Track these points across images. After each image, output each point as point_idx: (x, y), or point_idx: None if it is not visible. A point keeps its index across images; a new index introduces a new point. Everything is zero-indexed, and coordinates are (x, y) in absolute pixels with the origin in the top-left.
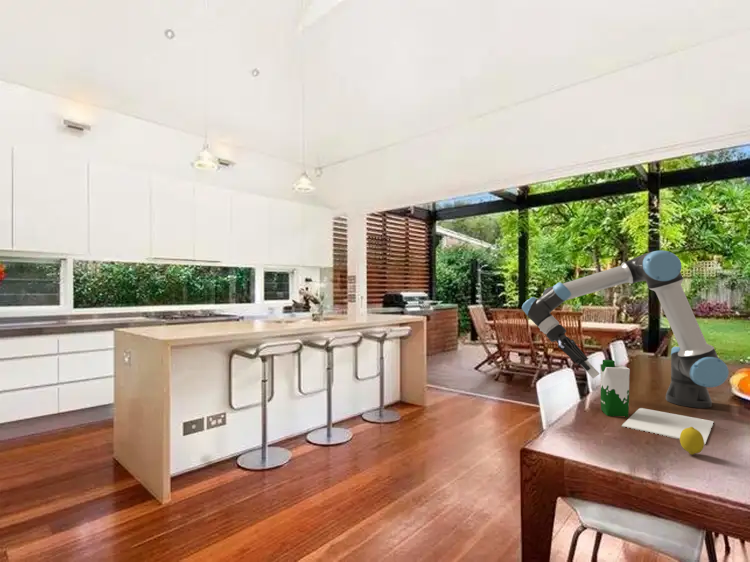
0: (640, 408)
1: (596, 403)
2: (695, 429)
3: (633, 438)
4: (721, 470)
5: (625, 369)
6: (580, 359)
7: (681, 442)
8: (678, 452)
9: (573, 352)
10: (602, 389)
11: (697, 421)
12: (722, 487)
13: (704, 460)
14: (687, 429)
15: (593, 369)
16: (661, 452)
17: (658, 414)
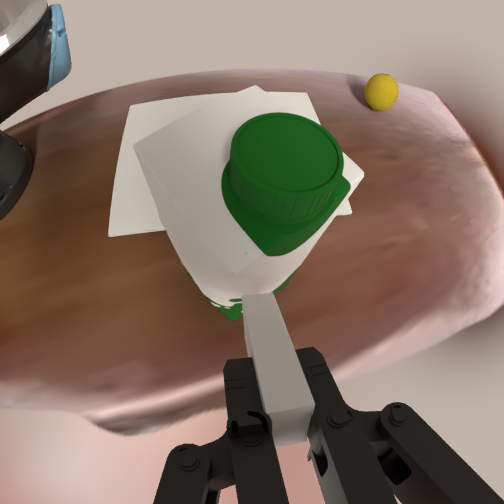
0: (117, 230)
1: (146, 369)
2: (386, 74)
3: (395, 178)
4: None
5: (273, 100)
6: (410, 410)
7: (393, 104)
8: (382, 121)
9: (472, 478)
10: (291, 275)
11: (155, 117)
12: (425, 98)
13: None
14: (395, 82)
15: (284, 326)
16: (407, 138)
17: None
